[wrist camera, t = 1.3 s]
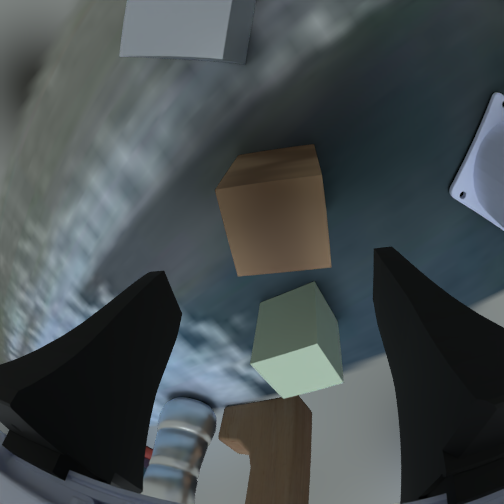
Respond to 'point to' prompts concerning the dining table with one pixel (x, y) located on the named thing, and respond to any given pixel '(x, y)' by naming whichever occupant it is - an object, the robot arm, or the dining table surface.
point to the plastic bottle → (179, 450)
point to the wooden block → (272, 447)
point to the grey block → (188, 29)
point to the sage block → (297, 343)
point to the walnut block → (275, 211)
